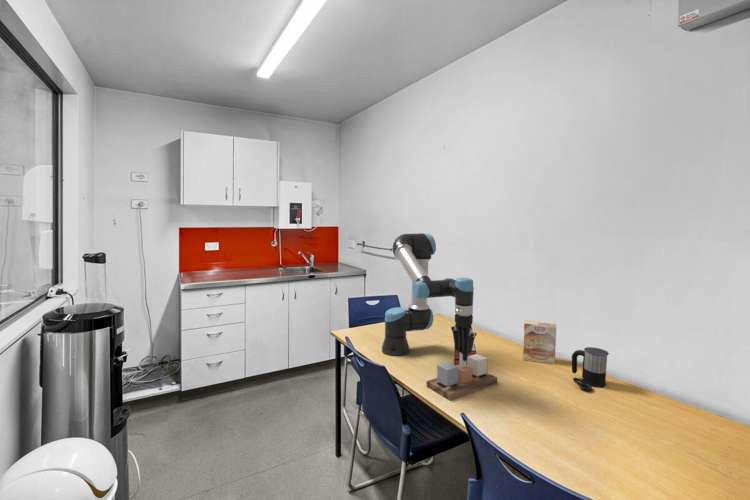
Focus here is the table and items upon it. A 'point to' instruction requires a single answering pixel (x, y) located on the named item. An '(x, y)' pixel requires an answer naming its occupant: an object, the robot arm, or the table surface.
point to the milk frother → (591, 367)
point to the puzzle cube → (456, 354)
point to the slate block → (447, 374)
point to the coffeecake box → (539, 341)
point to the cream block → (477, 364)
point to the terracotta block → (465, 374)
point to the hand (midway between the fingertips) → (462, 366)
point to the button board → (462, 386)
